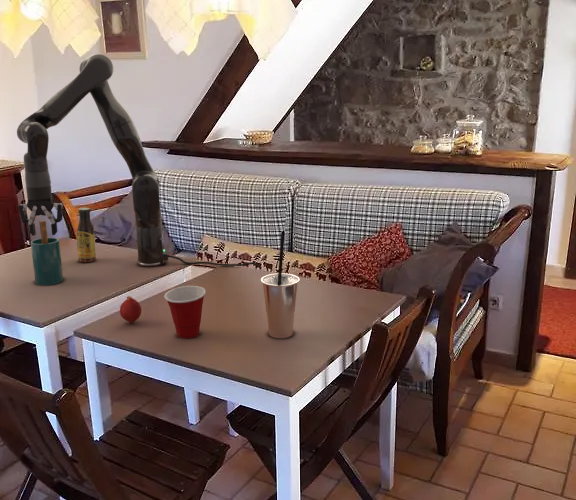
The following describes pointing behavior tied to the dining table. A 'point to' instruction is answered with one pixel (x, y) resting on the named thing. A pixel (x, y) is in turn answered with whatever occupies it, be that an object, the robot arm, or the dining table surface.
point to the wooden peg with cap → (43, 232)
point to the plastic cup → (186, 309)
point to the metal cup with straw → (280, 299)
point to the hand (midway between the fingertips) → (44, 234)
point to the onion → (130, 310)
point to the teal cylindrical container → (47, 261)
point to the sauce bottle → (85, 237)
